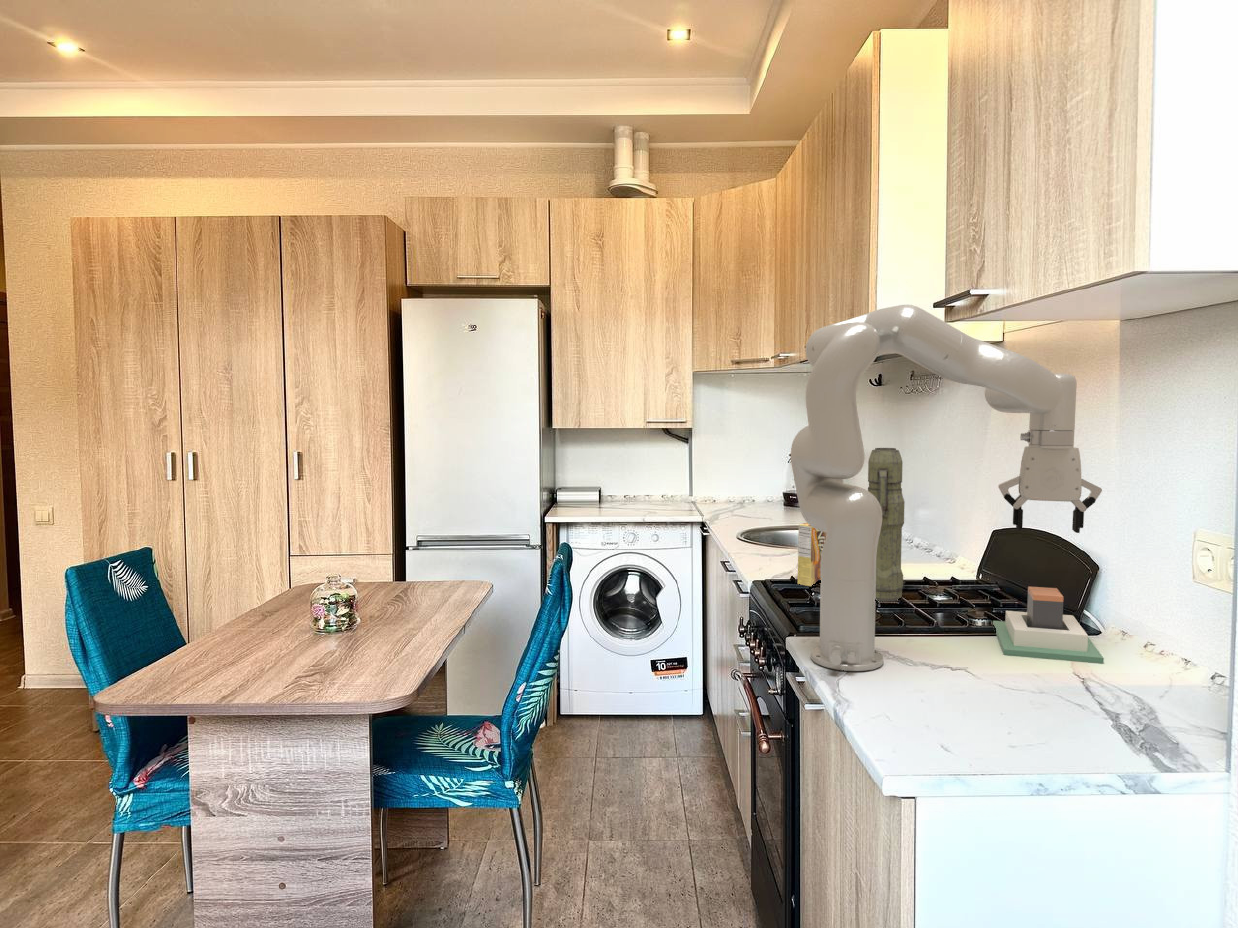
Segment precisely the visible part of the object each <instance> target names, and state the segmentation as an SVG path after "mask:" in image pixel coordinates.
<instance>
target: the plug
mask: <svg viewBox="0 0 1238 928" xmlns="http://www.w3.org/2000/svg"><path fill="white" fill-rule="evenodd" d="M1026 612H1027V627H1030V628H1043V629H1056V630H1062V622H1063V615H1064V596H1063V594H1062V593H1061V592H1060V590H1059V589H1058V588H1057V587H1043V586H1042V587H1041V586H1040V587H1039V586H1028V587H1027V607H1026Z"/></svg>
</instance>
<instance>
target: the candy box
mask: <svg viewBox="0 0 1238 928" xmlns="http://www.w3.org/2000/svg"><path fill="white" fill-rule="evenodd" d="M826 536H827V533H825V532H822V531H820V530H817V529H815V528H813V527H812V526H810V525H809V524H808V523H807V522H804V523H800V524H798V537H797V538H798V540H797V541H798V543H797V550H798V551H797V585H799V584H800V585H801V586H806V587H812V585H813V584H815V583H816V582H817V581H818V580H821V574H820V566H821V555H822V550H823V547H824V543H825V540H826ZM813 586H814V585H813Z"/></svg>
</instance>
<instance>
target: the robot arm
mask: <svg viewBox="0 0 1238 928" xmlns="http://www.w3.org/2000/svg"><path fill="white" fill-rule="evenodd" d="M891 354H898V355H900V356H903V357H905V358H906V359H908V360H909V361H912V362H913V363H915V364H918V365H919V366H921V367H922V368H924V369H926V370H928V371H930V372H932V373H934V374H935V375H937V376H939V378H942V379H944V380H948V381H950V382H954V383H958V384H963V385H968V386H969V385H970V386H977V387H982V388H985V389H984V398H985V401H986V402H987V404H988V405H989V406H990V407H991V408H992V409H993V410H995V411H998V412H1000V413H1007V414H1029V426H1028V427H1029V428H1028V431H1026V432H1024V433H1022V432H1021V433H1020V436H1019V438H1020V441H1024V442H1027V444H1028V445H1027V446H1024V449H1023V452H1022V456H1021V462H1020V469H1019V470H1020V471H1019V475H1018V476H1015V477H1013V478H1011V479H1009V480H1006V481H1004V482H1002V483H1001V482H1000V483H999V484H998V489H999V491H1000V494H1001V495H1002V497H1003V499H1004V500H1005V501H1007V503H1008V504H1009V505H1011V506H1012V507H1013V510H1012V525H1013V526H1015V528H1016V530H1017V531H1022V530H1023V524H1024V522H1023V521H1024V509H1023V508H1022V506H1023V505H1024V504H1025V503H1026V502H1027V501H1039V502H1040V501H1041V502H1043V501H1044V502H1046V501H1047V502H1064V503H1065V502H1067V503H1068V502H1071V503H1072V505H1073V506H1074V509H1073V511H1072V523H1071V524H1072V527H1071V528H1072V529H1071V530H1072V531H1073V532H1074V533H1076V534H1080V533H1081V532H1080V531H1081V529H1083V528H1084V524H1085V523H1084V520H1085V519H1084V518H1085V512H1086V511H1087V510H1088V509H1089V508H1090V507H1091V506H1092V505H1094V504H1095V503H1096V501H1097V500H1098V498H1099V497H1100V495H1101V493H1102V492H1103V489H1102V488H1101V487H1099V486H1097V485H1096V484H1094V483H1092V482H1090V481H1087V480H1086V479H1083V477H1082V461H1081V453H1080V449H1079V447H1075V427H1076V407H1077V405H1076V403H1077V388H1078V387H1077V379H1076V377H1075V375H1073V374H1070V373H1054V372H1052V371H1051V370H1049V369H1048V368H1047V367H1046V366H1043V365H1041V364H1040V363H1038V362H1036V361H1035V360H1033V359H1031V358H1029V357H1027V356H1025V355H1023V354H1020V353H1018V352H1016V351H1012V350H1009V349H1007V348H1003V347H1001V346H997V345H995V344H991V343H989V342H986V341H985V340H984V341H983V340H980V339H977V338H974V337H972V336H969V334H966V333H965V332H963V331H961V330H959V329H958V328H956V327H954V326H953V325H951V324H949V323H947V322H945V321H944V320H942V319H941V318H938V317H937V316H935V315H934V314H932V313H930V312H928V311H926V310H925V309H923V308H921V307H919V306H916V305H912V304H899V305H895V306H890V307H889V306H887V307H884V308H879V309H877V310H876V309H875V310H873V311H871V312H867V313H864V314H861V315H858V316H856V317H852V318H849V319H846V320H843V321H839V322H835V323H833V324H828V325H825V326H823V327H820V328H818V329H817V330H815V331H814V332H813V333H812V334H811V335H810V336H809V338H808V339H807V342H806V343H805V357H806V359H807V362H808V363H809V364H810V366H811V367H812V369H811V371H810V374H809V375H808V376H809V377H808V378H807V383H806V386H805V406H806V407H805V409H806V416H807V423H808V425H807V426H805V427H803V428H802V429H800V430H799V431H798V432H797V434H796V435H795V437H794V438H793V441H792V443H791V447H790V463H791V471H792V474H793V480H794V481H793V482H794V485H795V492H796V495H797V501H798V506H799V510H800V512H801V515H802V518H803V519H804V521H805V523H808V524H809V525H810V526H812V527H813V528H815V529H817V530H820V531H822V532H825V533H827V536H826V540H825V543H824V547H823V550H822V555H821V566H820V574H821V583H820V588H819V589H820V591H819V592H820V593H819V594H820V595H819V599H820V601H819V645H818V646H815V647H813V648H812V649H811V651H810V658H811V660H812V661H813V662H814V663H815V664H817V665H819V666H822V667H824V668H827V669H831V670H837V671H843V670H844V671H846V672H847V671H848V672H865V671H873V670H876V669H878V668H881V667H882V666H883V665H884V659H885V657H884V655H883V654H882V653H881V652H880V651H878V650H877V649H875V646H876V645H875V644H876V639H875V638H876V601H875V598H876V555H877V545H878V539H879V535H880V530H881V525H882V510H881V506H880V504H879V502H878V500H877V499H876V497H875V496H874V495H873V494H871V493H870V492H869V491H868V489H865V488H863V487H860V486H856V485H852V484H847V483H844V480H848V479H851V478H854V477H855V476H857V475H858V474H859V473H860V472H861V470H862V469H863V467H864V464H865V457H866V456H865V448H864V447H865V446H864V442H863V436H862V430H861V426H860V419H859V414H858V406H857V405H858V404H857V389H858V385H859V383H860V382H861V379H862V377H863V375H864V374H865V372H866V371H867V369H868V368H869V367H870V366H871V365H872V364H873V363H874V362H875V361H876V359H877V357H880V356H883V355H891ZM1017 485H1018V496H1017V497H1016V498H1014V497H1013V496H1012V495H1011V494H1010V491H1009V489H1010V488H1012V487H1014V486H1017ZM1082 488H1085V489H1087V490H1089V492H1090V493H1089V495H1088V496H1087V497H1086V498H1085V499H1083V500H1081V497H1082Z"/></svg>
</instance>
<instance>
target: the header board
mask: <svg viewBox="0 0 1238 928" xmlns="http://www.w3.org/2000/svg"><path fill="white" fill-rule="evenodd" d="M993 625H994V626H995V628H996V633H995V635H996V638H997V640H998V643H999V646H1000V648H1001V650H1002V653H1003V655H1004V656H1013V657H1023V658H1024V657H1026V658H1034V659H1035V658H1037V659H1048V660H1050V659H1051V660H1059V661H1069V662H1070V661H1073V662H1082V663H1092V662H1094V663H1095V664H1104V659H1105V658H1104V657H1103V655H1102V654H1101V652H1100V651H1099V650H1098V648H1097V647H1096V645H1095V644H1094V643H1093V642H1092V640H1091V639H1090V637H1089V635H1088V634H1087V632H1086V630H1085V629H1084V628H1083V627H1082V626H1081V625H1080V623H1079V622H1078V620H1077V619H1076V617H1075V616H1074V615H1073V614H1072V615H1071V614H1063V622H1062V630H1056V629H1043V628H1030V627H1027V611H1016V610H1015V611H1014V610H1005V620H1004V621H1003V620H992V626H993ZM1094 663H1093V664H1094Z"/></svg>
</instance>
